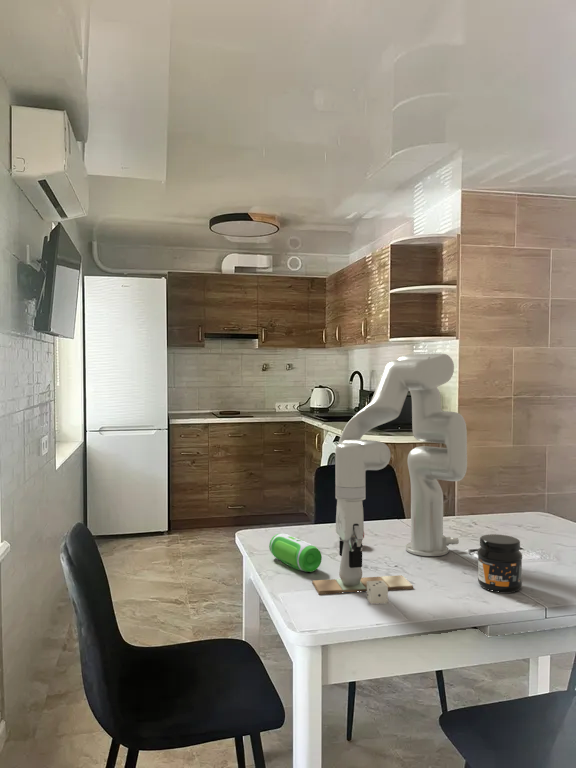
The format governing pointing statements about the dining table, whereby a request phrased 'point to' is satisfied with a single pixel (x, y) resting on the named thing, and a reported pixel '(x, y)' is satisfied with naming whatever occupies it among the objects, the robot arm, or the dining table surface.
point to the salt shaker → (346, 573)
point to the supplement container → (500, 563)
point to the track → (339, 587)
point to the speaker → (295, 552)
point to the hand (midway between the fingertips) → (350, 561)
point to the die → (377, 592)
